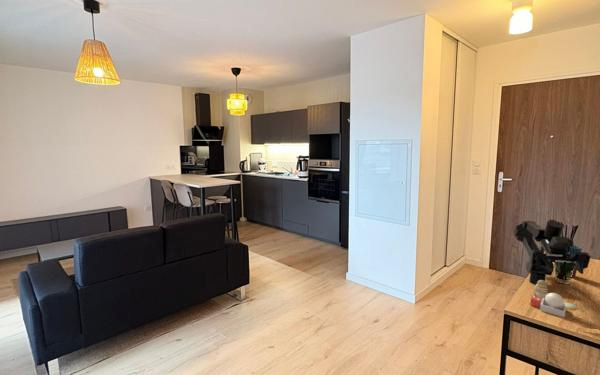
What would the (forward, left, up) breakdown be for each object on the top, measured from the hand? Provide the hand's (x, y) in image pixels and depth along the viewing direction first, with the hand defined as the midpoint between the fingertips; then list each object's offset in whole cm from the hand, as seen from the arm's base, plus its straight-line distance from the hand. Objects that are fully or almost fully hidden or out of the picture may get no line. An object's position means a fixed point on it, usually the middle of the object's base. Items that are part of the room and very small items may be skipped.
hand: (567, 272), depth 120 cm
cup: (-43, +21, -17) cm, 51 cm away
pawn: (-10, -4, -16) cm, 19 cm away
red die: (-2, -8, -17) cm, 19 cm away
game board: (-4, -1, -17) cm, 17 cm away
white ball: (+1, -3, -15) cm, 15 cm away
